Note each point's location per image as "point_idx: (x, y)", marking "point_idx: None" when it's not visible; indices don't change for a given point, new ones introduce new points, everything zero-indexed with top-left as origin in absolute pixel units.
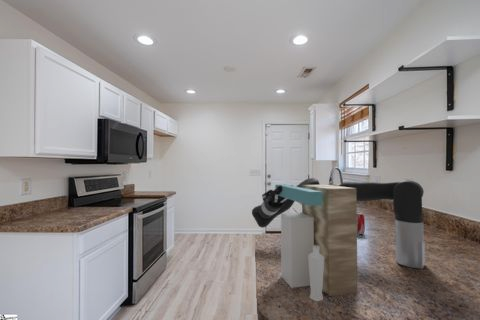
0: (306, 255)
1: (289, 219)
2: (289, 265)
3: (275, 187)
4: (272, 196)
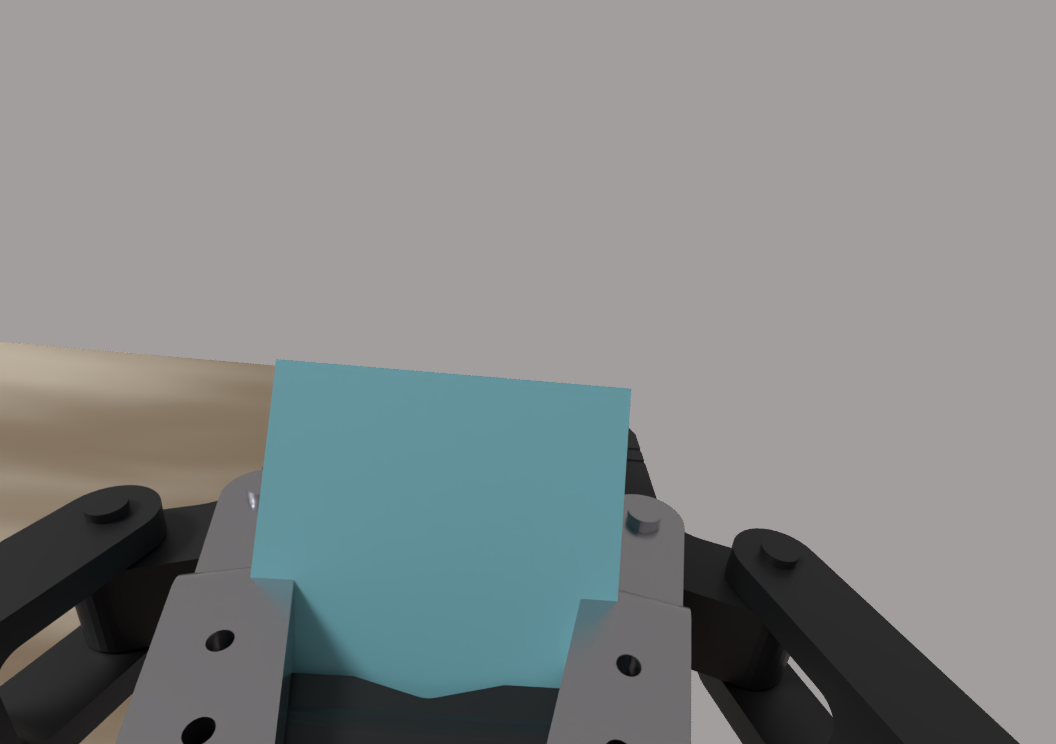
0: None
1: None
2: None
3: (622, 488)
4: (717, 702)
